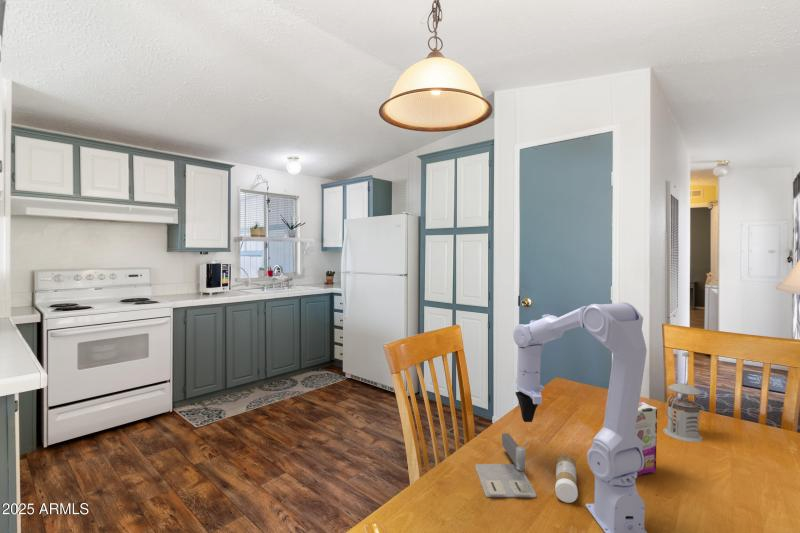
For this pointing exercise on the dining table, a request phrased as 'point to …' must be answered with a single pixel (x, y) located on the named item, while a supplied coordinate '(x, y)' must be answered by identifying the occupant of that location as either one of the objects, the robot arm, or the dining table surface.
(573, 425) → the dining table surface
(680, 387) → the french press
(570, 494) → the sprinkles bottle
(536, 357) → the robot arm
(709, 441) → the dining table surface
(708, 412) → the dining table surface
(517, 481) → the chassis plate
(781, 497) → the dining table surface
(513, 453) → the grey knobbed handle
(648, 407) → the candy bar box
